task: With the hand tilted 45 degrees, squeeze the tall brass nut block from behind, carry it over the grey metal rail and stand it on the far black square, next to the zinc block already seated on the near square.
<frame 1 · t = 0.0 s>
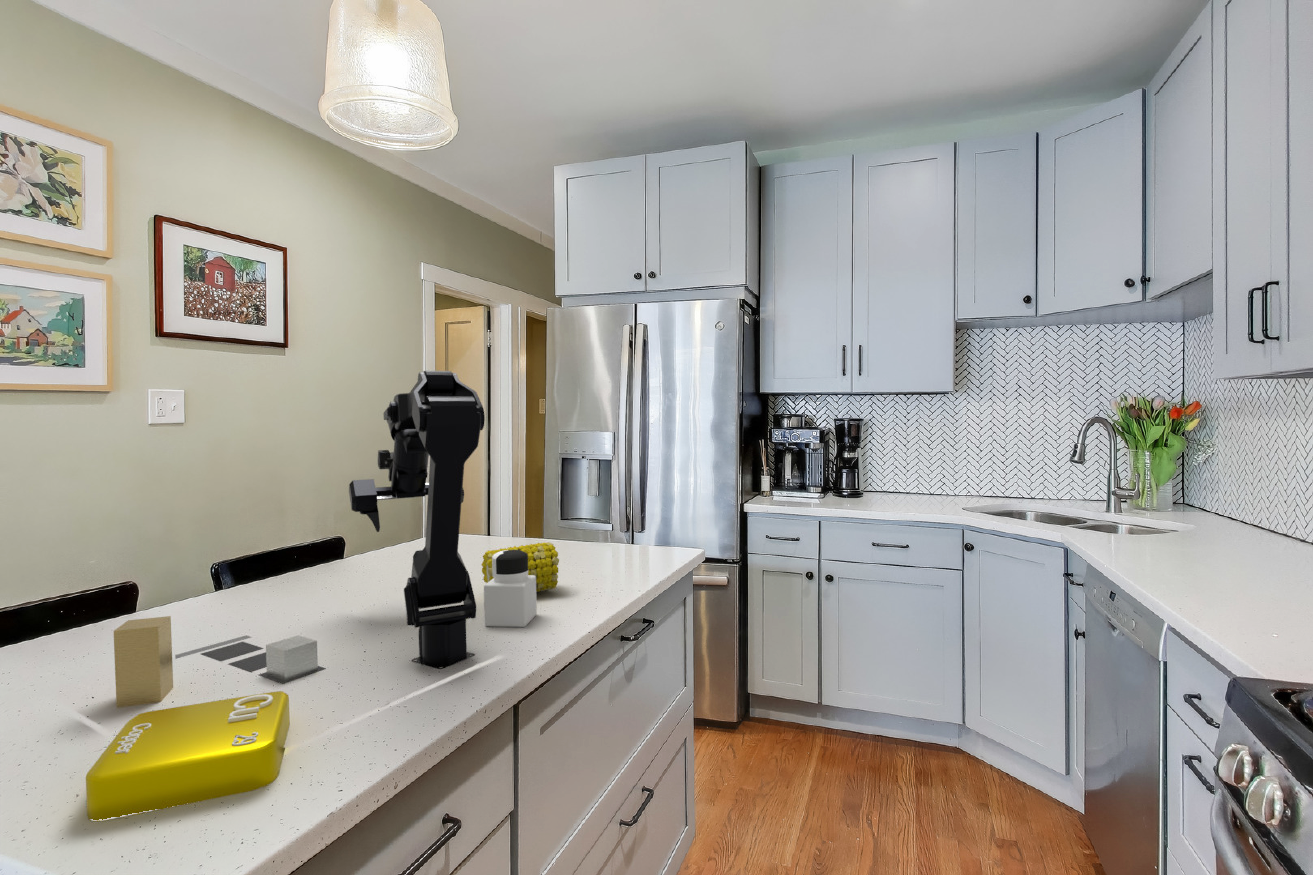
hand: (404, 527, 122), 15 cm above the worktop, tool tilted 35°, fingers open, 9 cm apart
food: (520, 596, 130), on the worktop
medicine bottle: (511, 621, 114), on the worktop
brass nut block: (146, 701, 83), on the worktop
element tile: (201, 771, 67), on the worktop
rail: (257, 663, 95), on the worktop
zinc block: (292, 671, 91), point 1 cm above the worktop, touching rail
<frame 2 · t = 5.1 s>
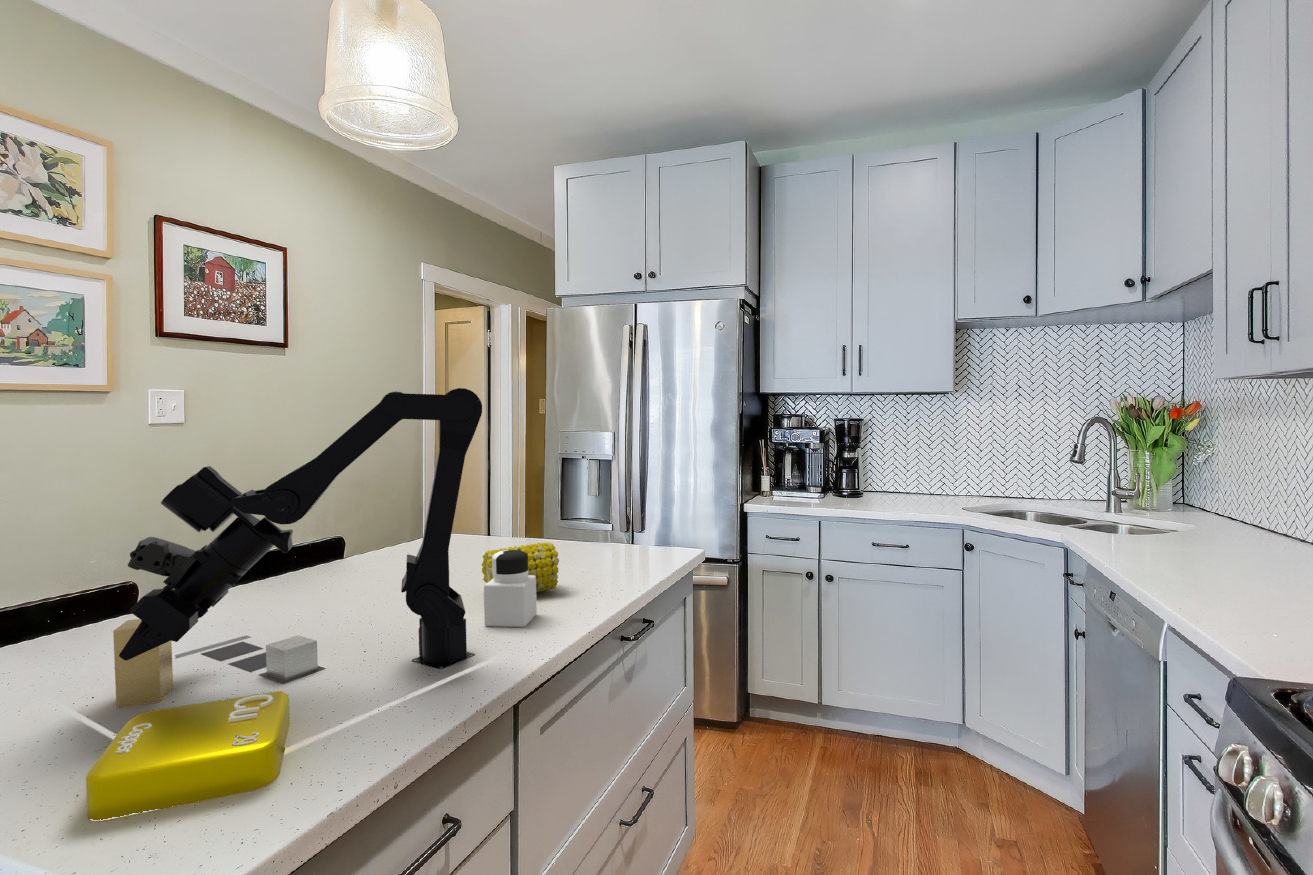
hand: (130, 651, 82), 7 cm above the worktop, tool tilted 45°, fingers closed on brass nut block, 4 cm apart
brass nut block: (146, 701, 83), on the worktop, touching gripper
everything else where it was.
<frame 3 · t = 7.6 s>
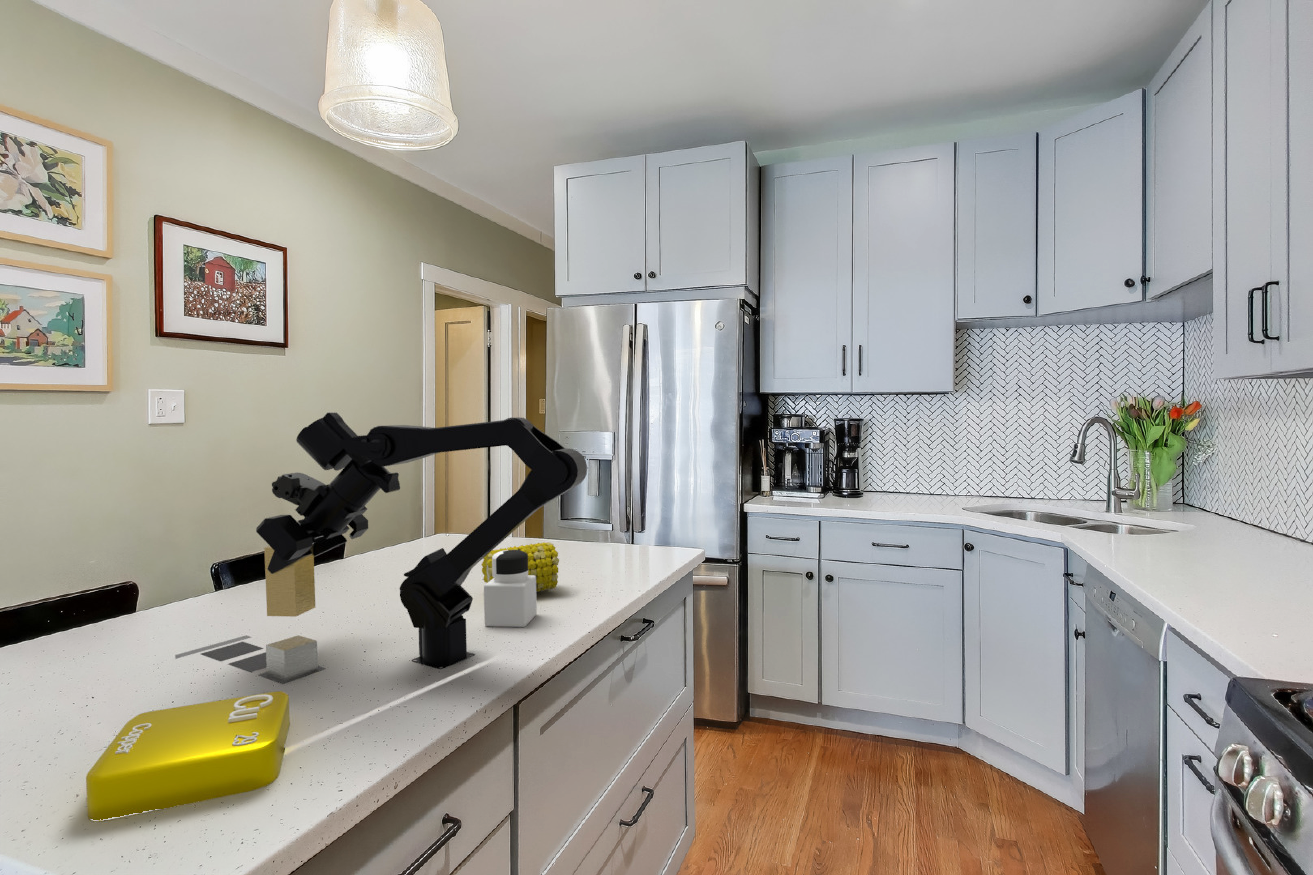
hand: (281, 567, 97), 13 cm above the worktop, tool tilted 45°, fingers closed on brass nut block, 4 cm apart
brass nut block: (291, 611, 98), point 7 cm above the worktop, touching gripper
everything else where it was.
when the fingers open (8 cm above the worktop, at t = 10.0 s): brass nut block stays where it is, resting on rail.
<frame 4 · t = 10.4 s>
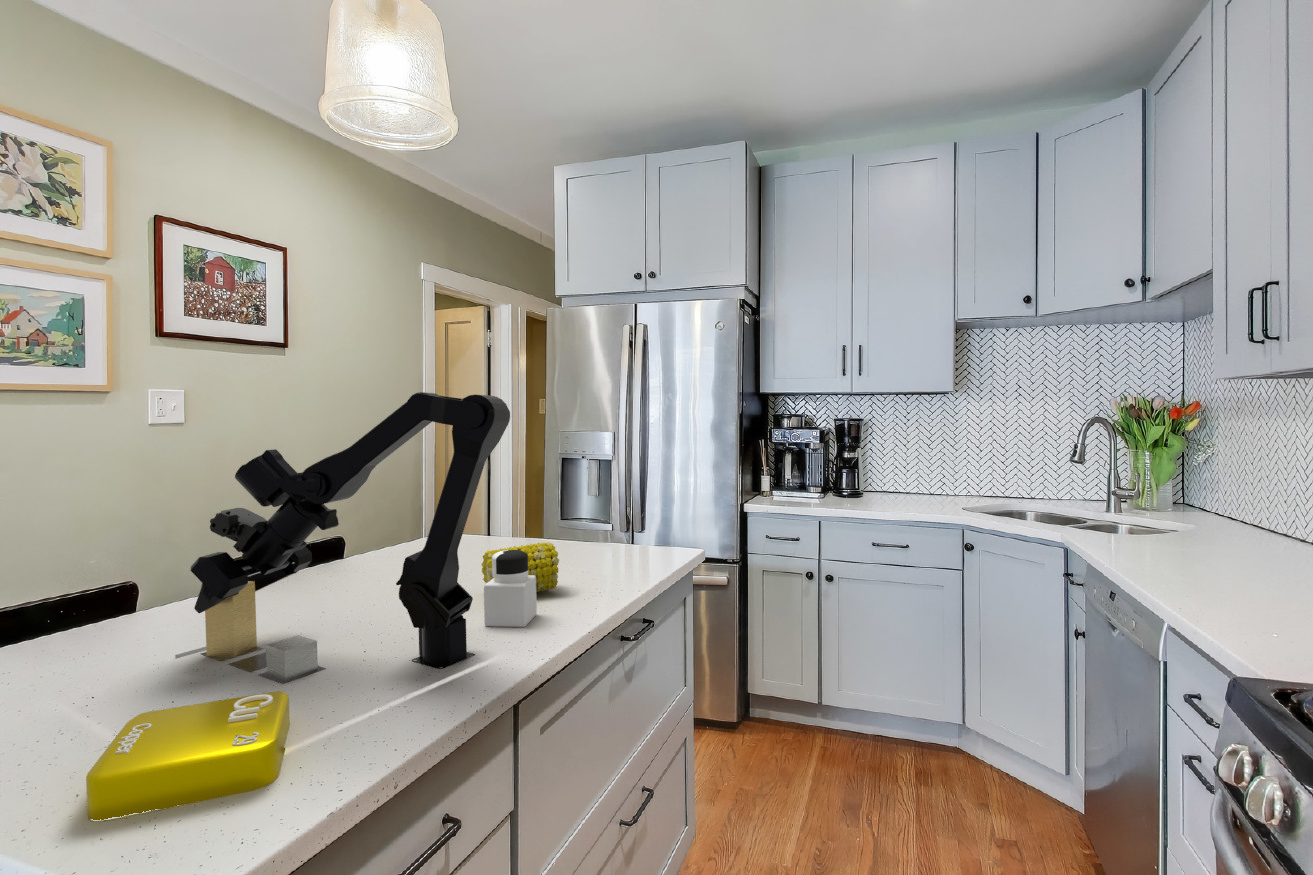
hand: (221, 601, 99), 8 cm above the worktop, tool tilted 45°, fingers open, 9 cm apart
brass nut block: (232, 650, 99), point 1 cm above the worktop, touching rail
everything else where it was.
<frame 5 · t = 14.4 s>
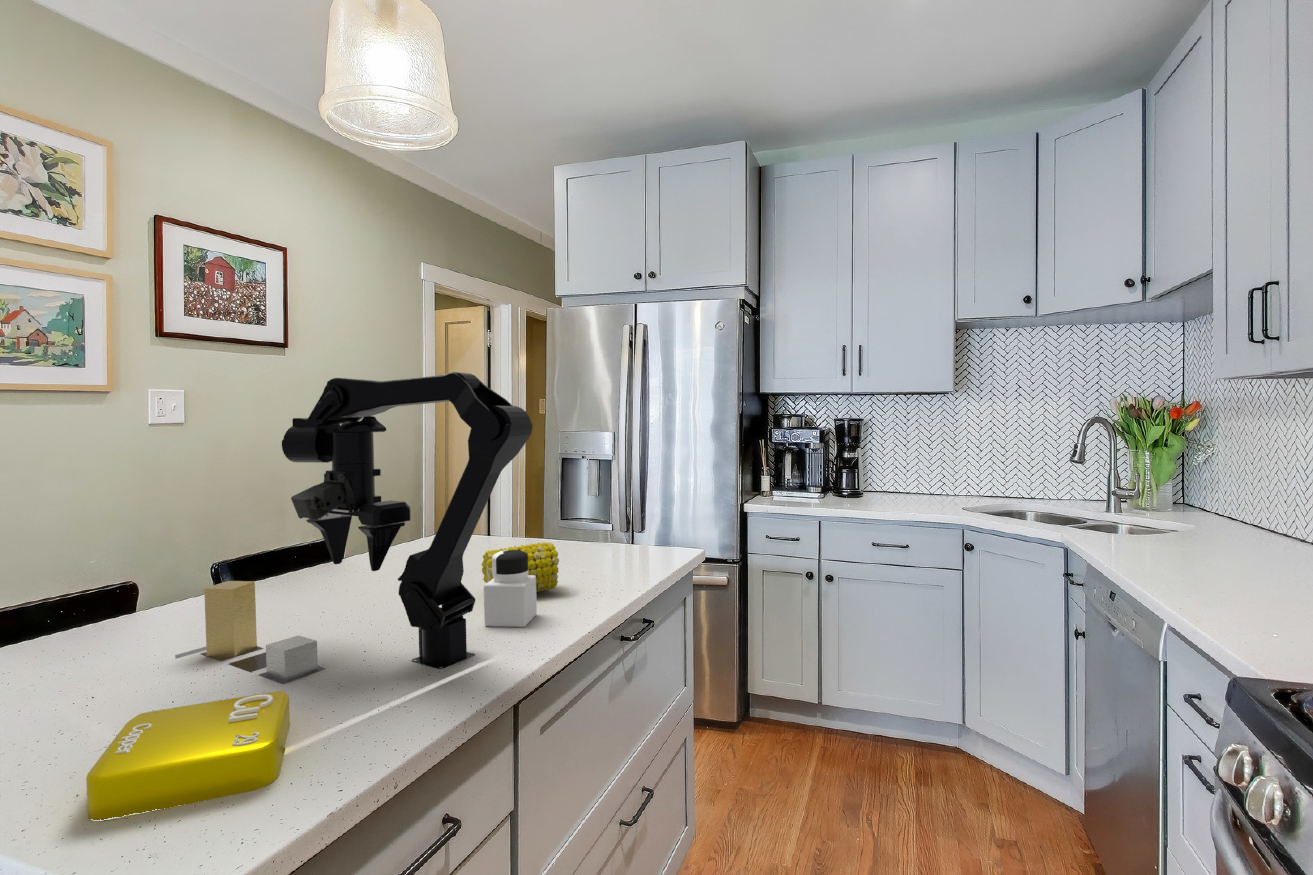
hand: (356, 567, 99), 13 cm above the worktop, tool pointing down, fingers open, 9 cm apart
nothing on the worktop moved.
at the end: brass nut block 0.0 cm from the target spot, point 0.6 cm above the worktop; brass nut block tilted 0°; the gripper is holding nothing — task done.
